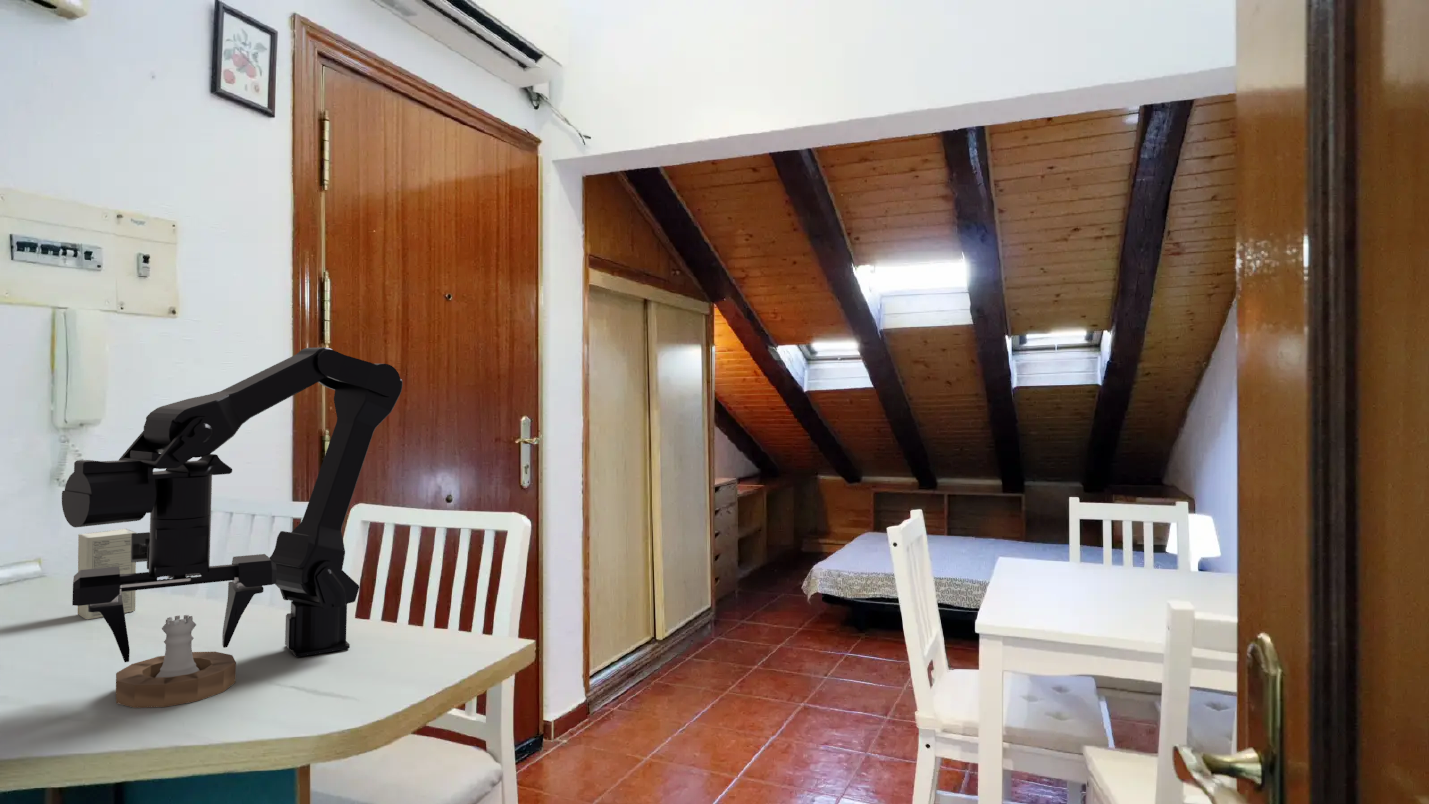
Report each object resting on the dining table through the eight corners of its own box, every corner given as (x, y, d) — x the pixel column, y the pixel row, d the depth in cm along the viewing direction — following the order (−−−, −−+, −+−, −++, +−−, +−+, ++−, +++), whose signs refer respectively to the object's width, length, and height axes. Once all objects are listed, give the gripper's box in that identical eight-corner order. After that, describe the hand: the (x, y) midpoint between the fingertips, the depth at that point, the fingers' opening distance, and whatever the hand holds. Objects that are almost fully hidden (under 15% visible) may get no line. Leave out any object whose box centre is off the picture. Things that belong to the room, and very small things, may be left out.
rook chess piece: (176, 697, 86) (177, 625, 86) (143, 693, 87) (145, 621, 87) (210, 683, 91) (212, 614, 91) (179, 679, 92) (180, 611, 92)
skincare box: (125, 606, 121) (127, 528, 121) (136, 612, 119) (138, 531, 119) (75, 615, 116) (77, 533, 116) (84, 620, 114) (87, 536, 113)
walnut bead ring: (227, 665, 97) (227, 646, 97) (240, 693, 88) (240, 671, 88) (114, 683, 90) (115, 662, 90) (117, 715, 81) (117, 692, 81)
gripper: (263, 503, 101) (259, 624, 101) (76, 512, 89) (72, 649, 89) (279, 514, 92) (275, 646, 92) (74, 526, 81) (70, 678, 81)
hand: (177, 653), depth 89 cm, fingers open, 9 cm apart
